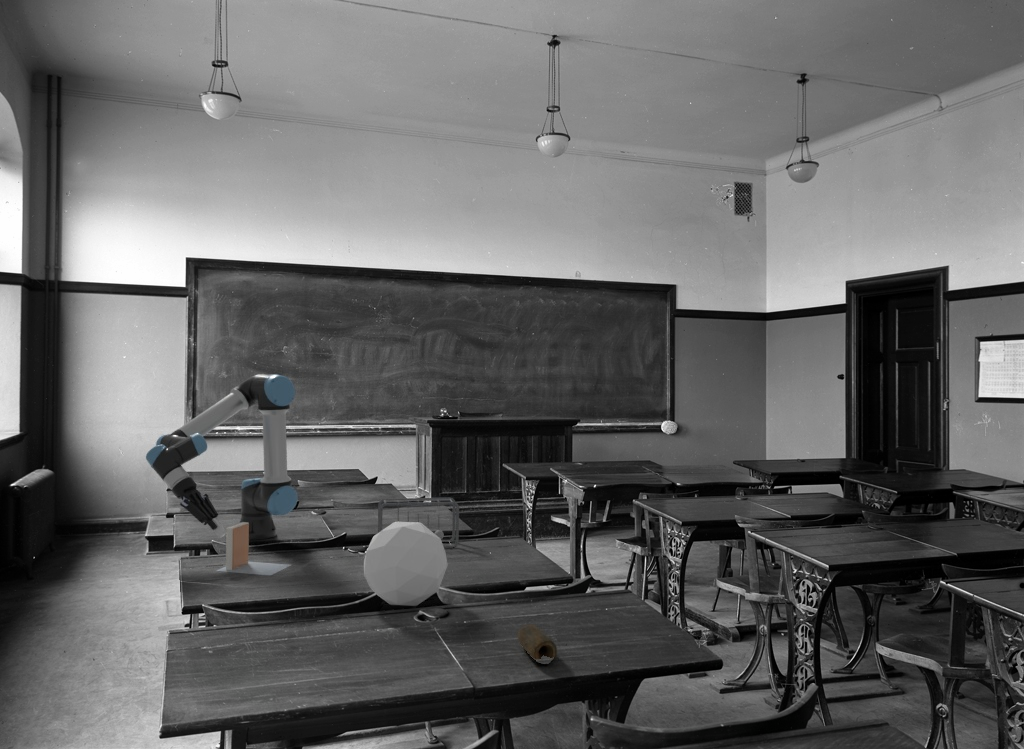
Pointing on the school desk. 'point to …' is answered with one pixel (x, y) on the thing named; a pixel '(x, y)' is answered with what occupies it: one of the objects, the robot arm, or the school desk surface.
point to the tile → (237, 545)
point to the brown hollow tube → (536, 642)
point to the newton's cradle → (438, 532)
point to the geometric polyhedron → (405, 563)
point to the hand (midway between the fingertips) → (223, 535)
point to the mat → (257, 568)
